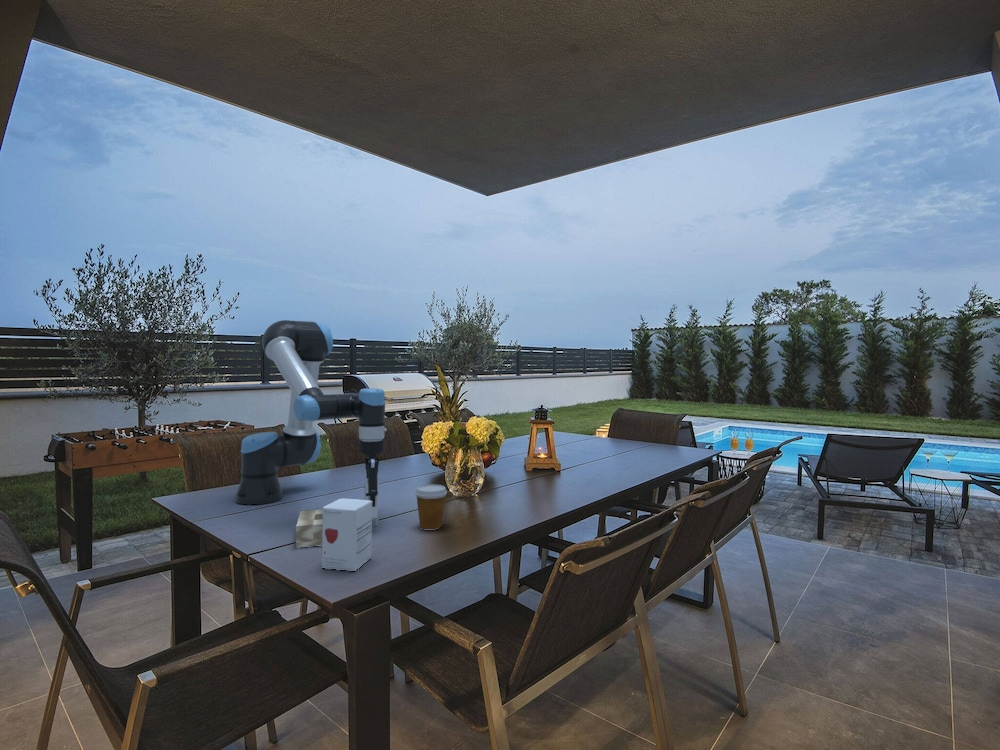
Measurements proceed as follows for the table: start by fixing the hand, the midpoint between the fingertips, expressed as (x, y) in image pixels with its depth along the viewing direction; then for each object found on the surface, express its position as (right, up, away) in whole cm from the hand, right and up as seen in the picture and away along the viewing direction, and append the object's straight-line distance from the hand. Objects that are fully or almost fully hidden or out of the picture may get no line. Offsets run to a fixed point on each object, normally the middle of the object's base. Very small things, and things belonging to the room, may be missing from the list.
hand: (371, 511), depth 154 cm
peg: (0, -4, 0) cm, 4 cm away
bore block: (-10, -4, -11) cm, 16 cm away
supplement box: (+2, -5, -30) cm, 30 cm away
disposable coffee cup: (+18, -5, -2) cm, 19 cm away
